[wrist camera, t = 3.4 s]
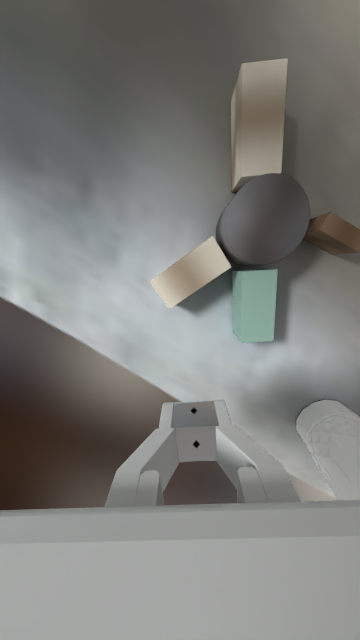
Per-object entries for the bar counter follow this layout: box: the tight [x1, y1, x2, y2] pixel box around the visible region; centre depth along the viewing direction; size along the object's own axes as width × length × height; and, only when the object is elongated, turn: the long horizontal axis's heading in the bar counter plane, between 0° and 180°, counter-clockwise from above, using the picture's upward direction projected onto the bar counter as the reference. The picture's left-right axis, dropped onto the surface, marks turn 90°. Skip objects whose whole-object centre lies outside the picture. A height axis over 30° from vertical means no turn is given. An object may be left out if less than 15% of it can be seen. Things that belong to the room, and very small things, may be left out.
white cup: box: [296, 400, 360, 500], centre depth 19 cm, size 8×8×10 cm
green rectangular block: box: [233, 269, 278, 343], centre depth 18 cm, size 6×3×3 cm, turn 5°
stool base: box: [150, 58, 360, 309], centre depth 16 cm, size 15×19×4 cm
